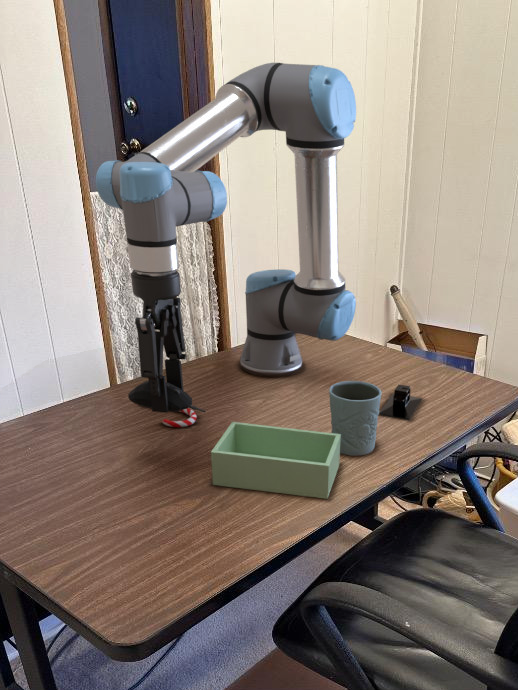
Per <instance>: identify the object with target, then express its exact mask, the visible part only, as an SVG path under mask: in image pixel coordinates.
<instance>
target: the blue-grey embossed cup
mask: <svg viewBox="0 0 518 690" xmlns="http://www.w3.org/2000/svg"><path fill="white" fill-rule="evenodd" d="M328 393H329V409H330V418H331V420H330V425H331V432H330V433H334V434H341V439H340V455H345V456H354V457H355V456H357V457H358V456H365V455H368V454H370V453H372V452H373V451H374V449H375V446H376V439H377V428H378V422H379V421H378V417H379V411H380V406H381V401H382V400H381V399H382V393H383V392H382V389H380V387H378V386H377V385H375V384H373V383H370V382H366V381H361V380H345V381H339V382H336V383H334V384H332V385H331V386H330V387H329V389H328Z"/></svg>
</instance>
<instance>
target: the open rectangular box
mask: <svg viewBox="0 0 518 690" xmlns="http://www.w3.org/2000/svg"><path fill="white" fill-rule="evenodd" d="M340 439H341V434H334V433H331V432H325V431H316V430H307V429H300V428H299V429H298V428H292V427H291V428H290V427H281V426H273V425H272V426H271V425H264V424H257V423H249V422H248V423H246V422H245V423H244V422H239V421H231V423H230V424H229V426H228V427H227V429H226V430H225V431H224V433H223V434H222V435H221V437H220V439H219V440H218V441H217V443H216V444H215V446H214V447H213V448H212V450H211V451H210V459H211V461H210V462H211V476H212V486H219V487H228V488H236V489H244V490H252V491H261V492H267V493H268V492H269V493H276V494H285V495H291V496H292V495H293V496H300V497H307V498H308V497H309V498H317V499H325V500H328V499H329V496H330V493H331V490H332V488H333V485H334V482H335V479H336V476H337V473H338V470H339V467H340V457H341V453H340Z"/></svg>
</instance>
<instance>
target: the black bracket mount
mask: <svg viewBox="0 0 518 690" xmlns="http://www.w3.org/2000/svg"><path fill="white" fill-rule="evenodd" d="M411 387H412V386H409V385H405V384H397V386H396V387H395V389H394V393H392V394H391V395H390V397H389V398H388V400H387V401H386V403H385V404H384V405H383V407H382V408H381V409H379V415H380V416H385V417H389V418H395V419H401V420H407V421H410V420H411V418H412V417H413V415H414V413H415V412H416V410H417V408H418V407H419V406H420V404H421V402H422V401H423V397H417V396H413V395H412V396H411ZM379 415H378V416H379Z"/></svg>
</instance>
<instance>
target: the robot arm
mask: <svg viewBox="0 0 518 690" xmlns="http://www.w3.org/2000/svg"><path fill="white" fill-rule="evenodd" d="M356 101H357V100H356V95H355V92H354V88H353V85H352V83H351V81H350V80H349V78H348V76H347V75H346V74H345V73H344V72H343V71H342V70H340V69H339V68H336V67H331V66H325V65H322V64H321V65H320V64H300V63H284V62H267V63H263V64H260V65H257V66H255V67H253V68H250V69H248V70H246V71H243V72H242V73H241V74H238V75H237V76H235V77H234V78H232V79H230V80H229V81H227V82H226V83H225V84H223V85H222V86H220V87H219V88H218V89H217V92H216V94H215V98H214V99H212V100H211V101H210V102H208V103H207V104H206V105H204V106H203V107H202V108H200V109H198V110H197V111H196V112H195V113H193V114H191V115H190V116H189V117H187V118H185V120H183V121H181V122H180V123H179V124H177V125H176V126H175V127H173V128H172V129H170V130H169V131H167V132H166V133H164V134H163V135H162V136H160V137H159V138H158V139H157V140H155V141H154V142H152V143H151V144H149V145H148V146H147V147H145V148H143V149H142V150H140V152H138V153H136V154H135V155H133V156H132V157H130V158H129V159H127V160H125V161H122V160H119V159H117V160H107V161H105V162H103V163H102V164H101V165H100V166H99V167H98V169H97V171H96V174H95V189H96V191H97V193H98V195H99V198H100V199H101V200H102V202H103V203H104V204H105V205H107V206H109V207H111V208H114V209H119V210H121V211H122V214H123V222H124V230H125V236H126V243H127V246H126V247H125V251H126V252H127V253H128V260H129V268H130V269H131V270H132V271H131V272H130V281H131V288H132V293H133V294H132V295H134V296H135V297H136V298H139V299H140V300H142V302H143V303H142V317H135V319H134V324H135V327H136V332H137V341H138V343H137V344H138V356H139V368H140V370H139V371H140V376H141V378H146V379H148V380H149V389H150V398H151V406H152V408H151V412H154V413H155V412H156V413H163V414H164V413H165V414H168V413H170V411H169V408H168V398H167V388H166V382H168V383H170V384H172V385H174V386H176V387H178V388H180V389H181V390H183V391H184V380H183V378H184V377H183V368H182V360H184V361H185V360H187V354H186V353H185V352H186V344H185V342H186V341H185V335H184V334H185V333H184V327H183V319H182V309H181V307H182V306H181V303H182V302H181V301H182V300H181V297H179V296H180V295H181V293H182V285H181V275H180V272H179V271H178V269H179V268H180V260H179V249H178V241H177V227H181V226H187V225H192V224H193V225H194V224H197V223H208V222H209V221H211V220H214V219H216V218H219V217H220V216H222V215H223V213H224V212H225V210H226V208H227V205H228V193H227V189H226V186H225V184H224V182H223V180H222V179H221V178H220V177H219V176H218V175H217V174H216V173H215V172H212V171H209V170H204V171H203V170H199V169H201V167H203V166H204V165H205V164H206V163H208V162H209V161H211V160H212V159H213V158H214V157H216V156H217V155H219V153H221V152H223V150H224V149H226V148H227V147H229V146H230V145H231V144H232V143H234V142H235V141H236V140H238V139H239V138H248V137H250V136H252V135H254V133H256V132H259V131H278V132H285V144H286V147H287V148H288V149H289V150H290V151H291V152H292V153H293V156H294V174H295V193H296V216H297V217H296V218H297V236H298V238H297V239H298V257H299V259H298V260H299V272H298V273H297V274H296V272H295V271H293V270H291V269H283V268H282V269H281V268H280V269H266V270H260V271H255V272H252V273H250V274H249V275H248V276H247V277H246V280H245V292H244V294H245V312H246V313H245V315H246V316H245V317H246V337H245V341H244V344H243V348H242V351H241V354H240V358H239V362H240V364H239V365H240V368H241V369H242V370H243V371H244V372H245V373H248V374H249V375H253V376H257V377H258V376H259V377H265V378H283V377H288V376H291V375H295V374H297V373H299V372H300V371H301V370H302V369H303V358H302V354H301V351H300V348H299V346H298V342H297V339H296V334H300V335H304V336H308V337H312V338H316V339H318V340H320V341H321V340H322V341H323V340H326V341H331V342H334V341H338V340H340V339H342V338H343V337H344V336H345V335H346V333H347V332H348V331H349V329H350V327H351V326H352V323H353V321H354V317H355V314H356V308H357V307H356V306H357V301H356V296H355V294H354V293H353V292H352V291H350V290H348V289H347V290H346V278H345V276H344V275H343V274H342V273H341V272H340V271H339V270H340V269H339V208H338V207H339V206H338V205H339V204H338V195H339V194H338V154H339V153H340V151H342V149H343V148H344V147H345V139H346V138H348V137H349V136H350V135H351V134H352V132H353V131H354V128H355V124H354V123H355V122H356V120H357V119H356V118H357V102H356ZM164 352H165V356H166V358H165V359H164ZM164 368H165V375H164V374H163V371H164ZM148 380H147V381H148ZM184 392H185V391H184Z"/></svg>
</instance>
